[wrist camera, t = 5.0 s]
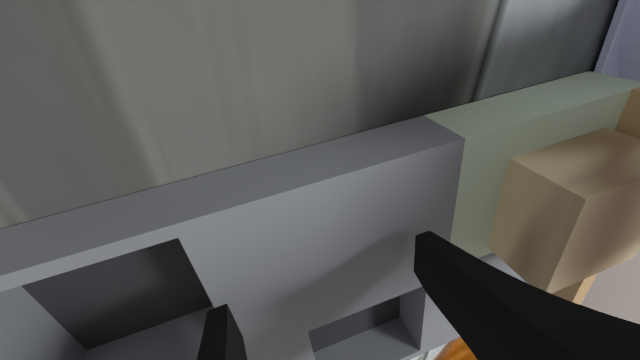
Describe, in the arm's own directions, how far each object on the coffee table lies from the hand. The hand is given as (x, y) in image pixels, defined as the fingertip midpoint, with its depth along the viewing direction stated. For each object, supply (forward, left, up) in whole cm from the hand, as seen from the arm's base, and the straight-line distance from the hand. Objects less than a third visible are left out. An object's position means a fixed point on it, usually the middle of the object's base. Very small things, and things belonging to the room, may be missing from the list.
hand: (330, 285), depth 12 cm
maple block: (-11, 0, -1) cm, 11 cm away
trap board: (-2, +3, -3) cm, 5 cm away
